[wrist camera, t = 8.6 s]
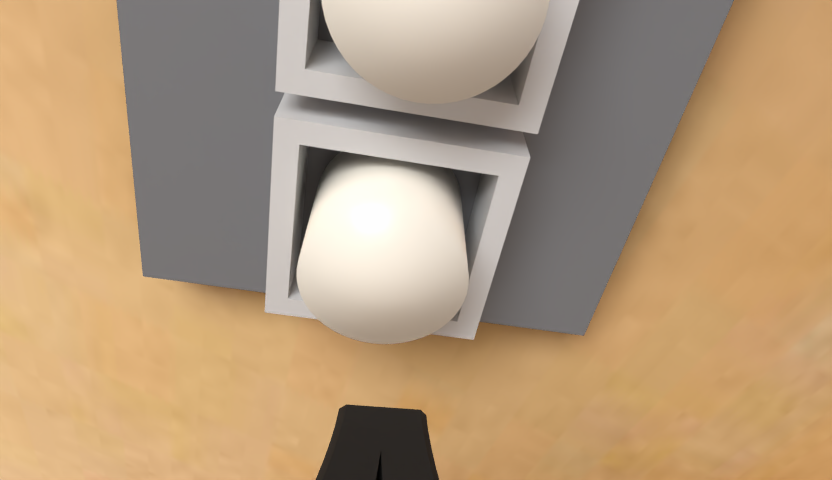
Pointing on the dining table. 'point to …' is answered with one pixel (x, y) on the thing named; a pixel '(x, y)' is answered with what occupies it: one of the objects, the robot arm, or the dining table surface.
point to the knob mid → (434, 43)
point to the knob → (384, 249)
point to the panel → (404, 145)
